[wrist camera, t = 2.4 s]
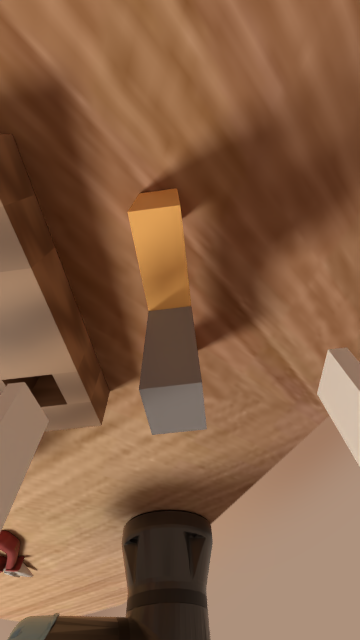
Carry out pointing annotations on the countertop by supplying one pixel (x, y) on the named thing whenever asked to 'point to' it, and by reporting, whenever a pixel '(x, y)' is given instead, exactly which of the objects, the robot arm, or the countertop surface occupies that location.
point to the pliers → (12, 556)
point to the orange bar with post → (167, 317)
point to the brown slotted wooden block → (41, 310)
